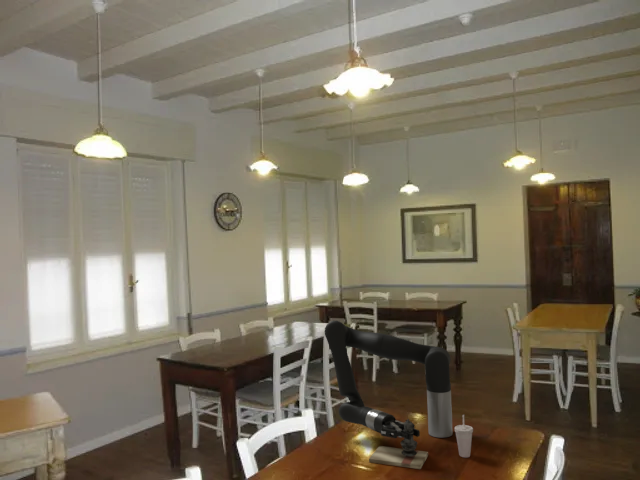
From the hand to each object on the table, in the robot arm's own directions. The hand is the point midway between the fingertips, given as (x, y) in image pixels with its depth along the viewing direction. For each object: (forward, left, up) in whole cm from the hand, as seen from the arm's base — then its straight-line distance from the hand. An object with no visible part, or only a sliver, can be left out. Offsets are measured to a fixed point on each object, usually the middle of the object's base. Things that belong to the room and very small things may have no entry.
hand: (414, 435), depth 185 cm
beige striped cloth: (-1, -6, -9) cm, 11 cm away
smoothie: (-11, +15, -10) cm, 21 cm away
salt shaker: (-1, -3, -7) cm, 8 cm away
